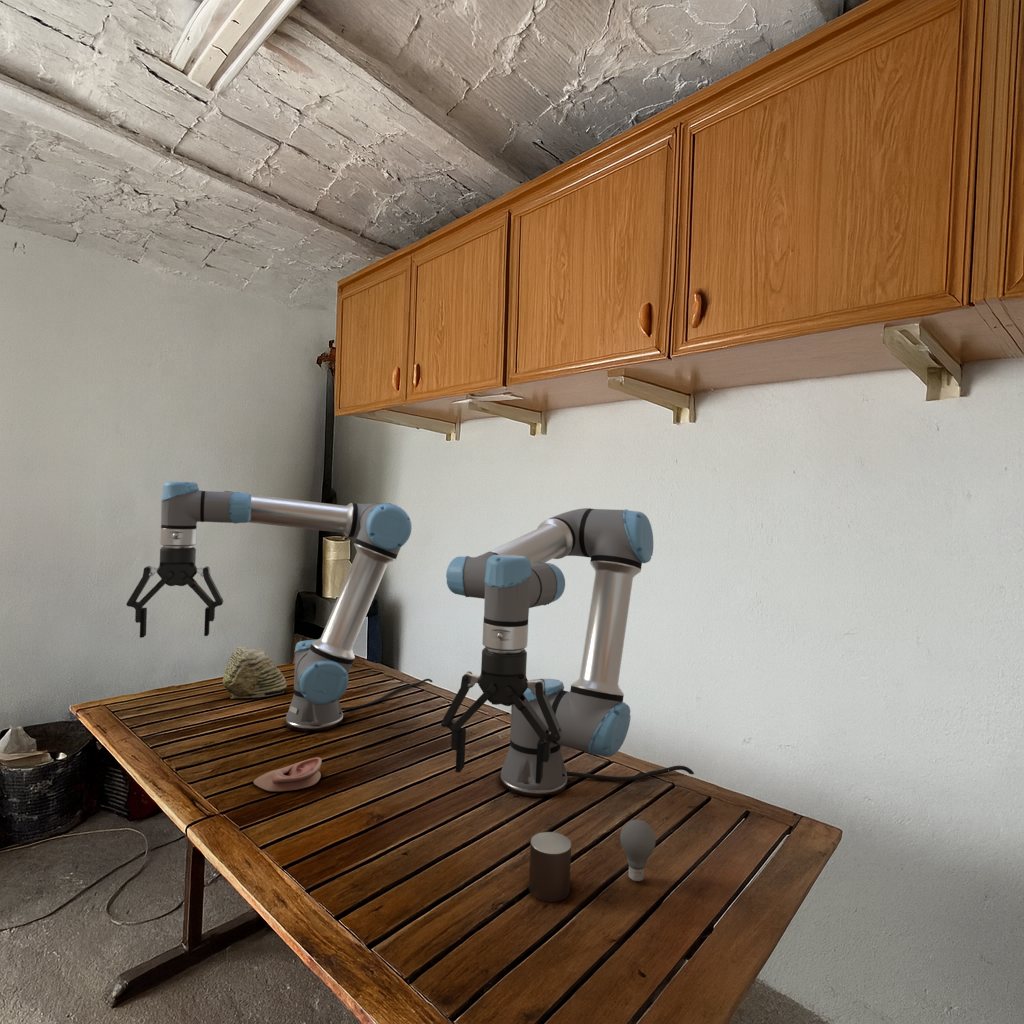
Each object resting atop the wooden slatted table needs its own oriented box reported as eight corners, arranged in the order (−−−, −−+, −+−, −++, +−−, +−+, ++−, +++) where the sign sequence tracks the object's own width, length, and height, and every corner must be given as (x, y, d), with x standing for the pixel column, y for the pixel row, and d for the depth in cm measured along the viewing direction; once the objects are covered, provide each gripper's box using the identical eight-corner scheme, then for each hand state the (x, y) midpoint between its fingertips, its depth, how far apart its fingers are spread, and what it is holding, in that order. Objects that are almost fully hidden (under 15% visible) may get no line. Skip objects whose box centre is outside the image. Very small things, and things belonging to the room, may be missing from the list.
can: (520, 885, 106) (522, 839, 106) (550, 872, 110) (553, 827, 110) (546, 907, 101) (548, 858, 100) (577, 892, 105) (579, 845, 105)
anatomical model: (245, 769, 136) (276, 749, 147) (245, 787, 136) (275, 766, 147) (302, 777, 133) (328, 756, 144) (301, 796, 133) (328, 773, 144)
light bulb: (614, 869, 112) (617, 812, 111) (647, 868, 112) (650, 813, 112) (623, 890, 106) (626, 830, 105) (658, 889, 106) (661, 830, 106)
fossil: (218, 695, 195) (220, 647, 195) (278, 685, 208) (279, 640, 207) (228, 703, 189) (230, 653, 188) (289, 692, 201) (290, 645, 201)
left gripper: (113, 546, 143) (110, 640, 143) (233, 548, 150) (230, 637, 151) (122, 544, 150) (119, 633, 150) (236, 546, 158) (233, 631, 158)
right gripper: (426, 646, 104) (420, 773, 105) (577, 660, 99) (570, 794, 100) (440, 637, 112) (435, 756, 112) (581, 650, 107) (575, 775, 107)
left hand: (175, 635), depth 150 cm, fingers open, 13 cm apart
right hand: (499, 774), depth 106 cm, fingers open, 13 cm apart
